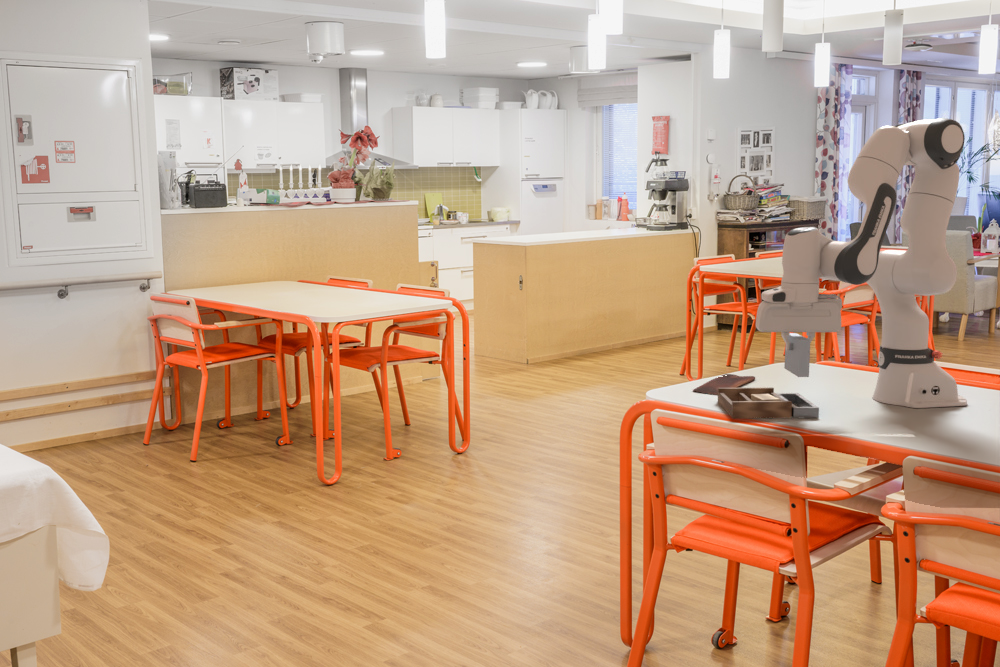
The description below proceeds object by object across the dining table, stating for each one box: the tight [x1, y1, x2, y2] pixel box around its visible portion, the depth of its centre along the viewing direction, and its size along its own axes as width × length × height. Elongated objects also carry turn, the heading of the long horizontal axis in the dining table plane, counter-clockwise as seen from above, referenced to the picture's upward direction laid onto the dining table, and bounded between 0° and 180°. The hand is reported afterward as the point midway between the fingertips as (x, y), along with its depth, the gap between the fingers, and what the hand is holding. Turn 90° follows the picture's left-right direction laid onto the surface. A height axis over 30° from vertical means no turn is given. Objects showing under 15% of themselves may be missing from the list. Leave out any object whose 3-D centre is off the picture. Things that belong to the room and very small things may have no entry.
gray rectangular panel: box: [783, 332, 812, 378], centre depth 232 cm, size 2×12×9 cm, turn 179°
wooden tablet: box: [692, 373, 756, 396], centre depth 263 cm, size 26×2×10 cm
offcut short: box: [751, 394, 780, 401], centre depth 234 cm, size 4×7×2 cm, turn 7°
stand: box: [775, 392, 820, 419], centre depth 233 cm, size 6×17×2 cm, turn 179°
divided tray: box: [717, 387, 793, 419], centre depth 234 cm, size 14×17×4 cm
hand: (797, 350), depth 231 cm, fingers closed on gray rectangular panel, 2 cm apart
